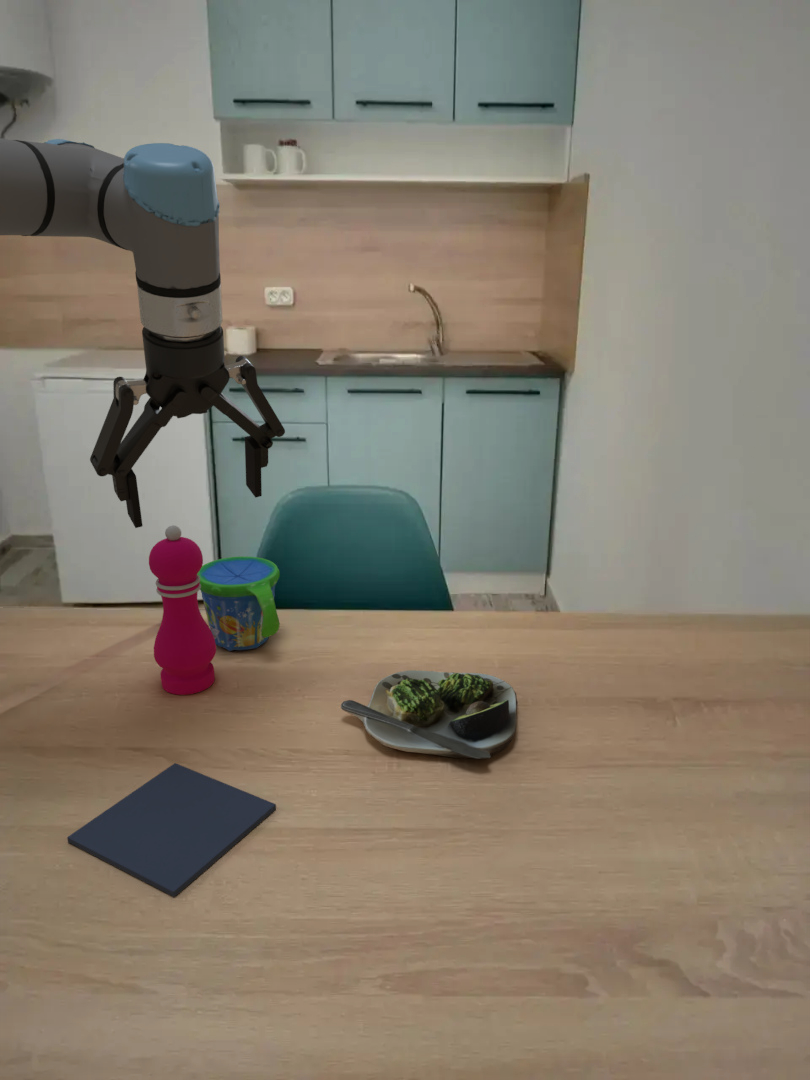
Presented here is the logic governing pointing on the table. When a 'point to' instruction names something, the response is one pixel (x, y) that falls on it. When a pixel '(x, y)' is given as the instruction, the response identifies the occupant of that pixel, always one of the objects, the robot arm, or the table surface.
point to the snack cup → (240, 601)
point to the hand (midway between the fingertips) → (196, 505)
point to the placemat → (172, 827)
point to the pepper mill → (181, 616)
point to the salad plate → (440, 713)
